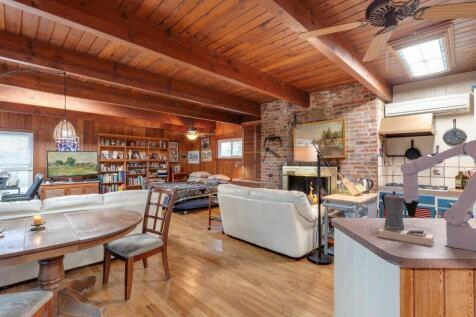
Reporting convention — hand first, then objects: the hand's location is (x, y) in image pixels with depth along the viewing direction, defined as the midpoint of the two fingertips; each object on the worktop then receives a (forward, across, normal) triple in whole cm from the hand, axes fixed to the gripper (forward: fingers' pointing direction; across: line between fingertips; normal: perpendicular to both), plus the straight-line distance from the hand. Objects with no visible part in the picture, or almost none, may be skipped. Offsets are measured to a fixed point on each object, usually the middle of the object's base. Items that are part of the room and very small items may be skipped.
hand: (411, 216), depth 113 cm
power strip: (+9, +7, -2) cm, 12 cm away
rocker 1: (+5, +7, -6) cm, 11 cm away
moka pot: (+10, -12, -10) cm, 18 cm away
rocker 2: (+5, +7, +2) cm, 9 cm away
